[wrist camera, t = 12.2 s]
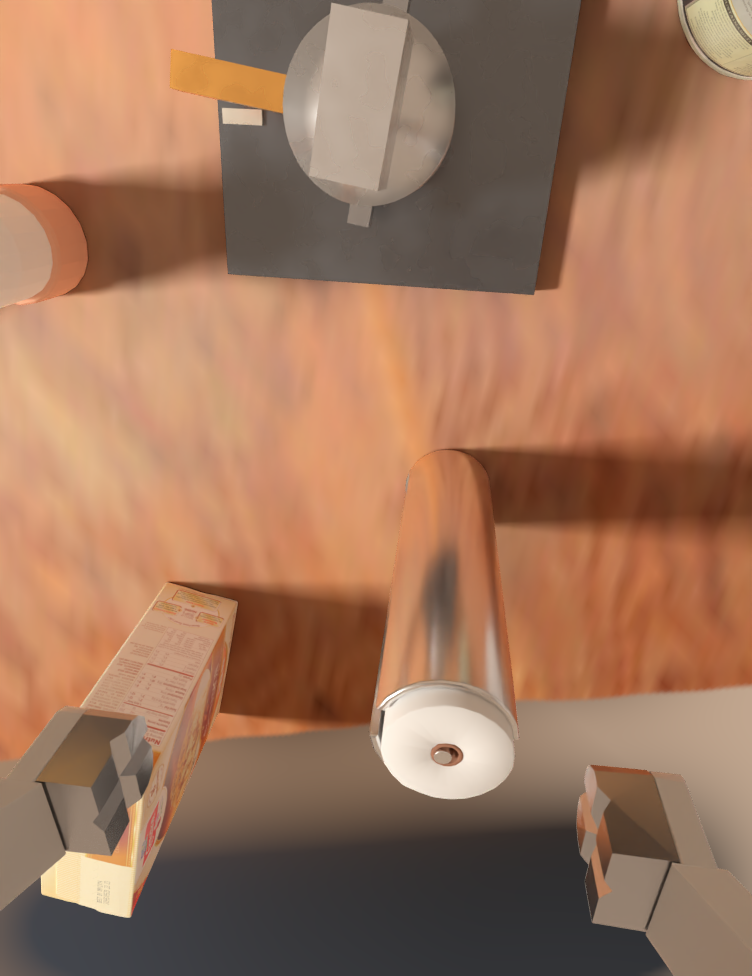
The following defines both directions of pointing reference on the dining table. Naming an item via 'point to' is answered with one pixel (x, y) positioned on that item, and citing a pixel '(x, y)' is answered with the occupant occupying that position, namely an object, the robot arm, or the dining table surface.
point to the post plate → (448, 193)
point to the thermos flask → (446, 639)
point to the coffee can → (720, 34)
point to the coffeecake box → (154, 735)
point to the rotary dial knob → (349, 102)
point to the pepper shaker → (38, 246)
